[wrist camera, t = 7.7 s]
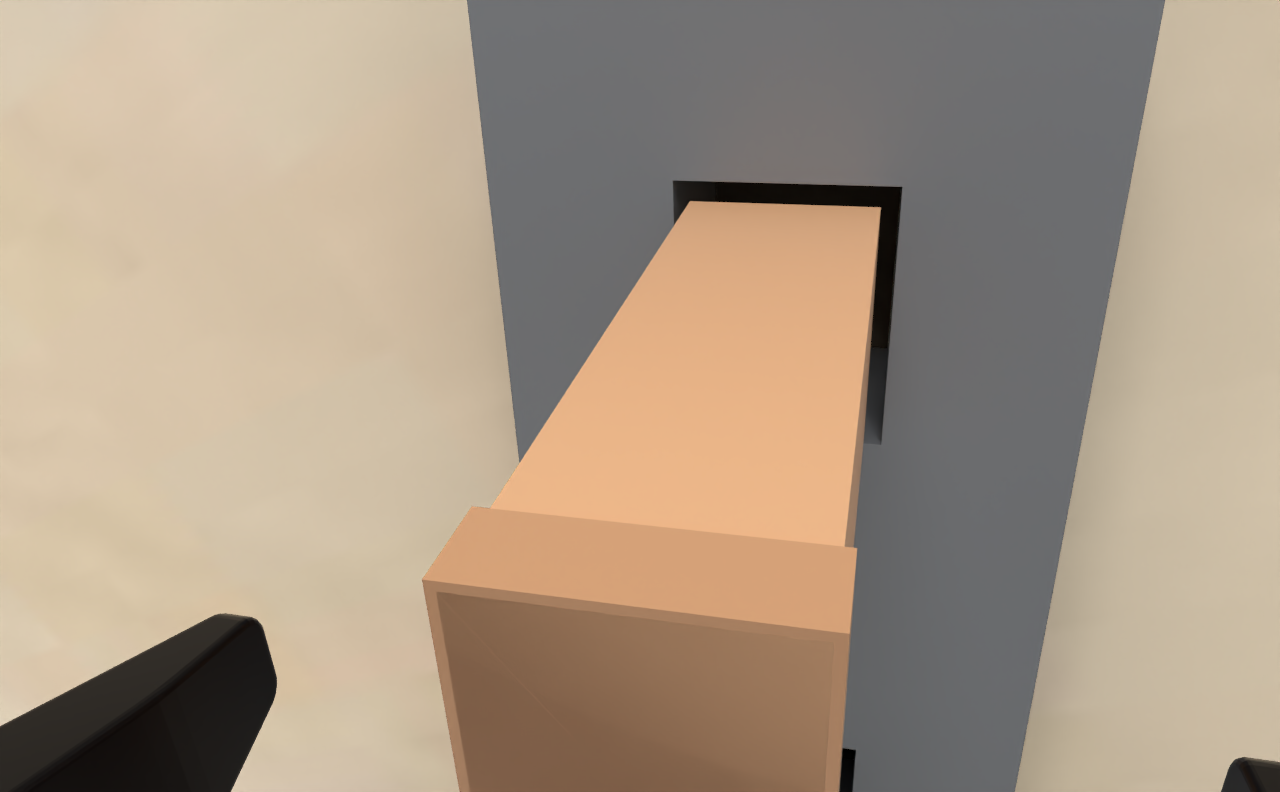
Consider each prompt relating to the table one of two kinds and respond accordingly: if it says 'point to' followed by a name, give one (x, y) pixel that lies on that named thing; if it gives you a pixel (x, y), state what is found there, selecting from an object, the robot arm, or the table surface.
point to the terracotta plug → (678, 530)
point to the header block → (921, 293)
